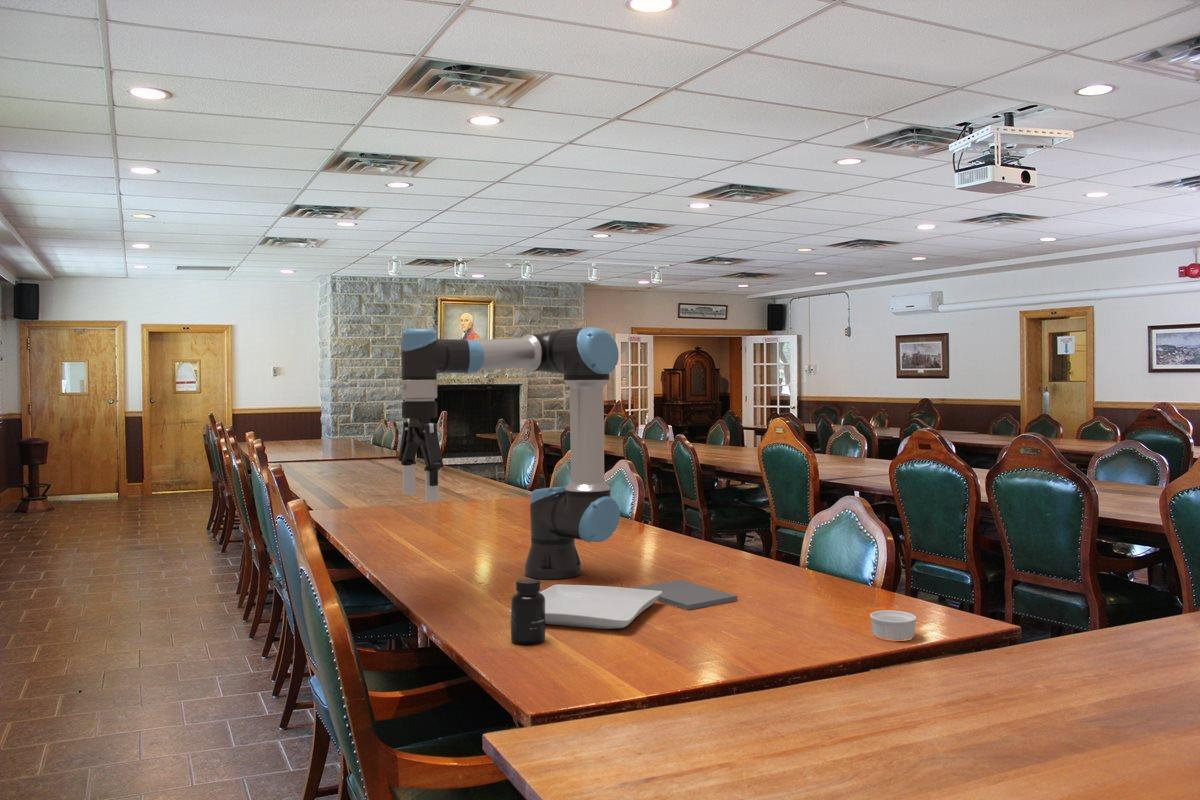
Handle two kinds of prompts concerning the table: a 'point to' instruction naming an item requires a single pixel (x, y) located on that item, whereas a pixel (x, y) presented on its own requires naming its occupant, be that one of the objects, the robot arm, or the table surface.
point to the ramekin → (893, 624)
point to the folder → (689, 594)
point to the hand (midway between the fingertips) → (420, 497)
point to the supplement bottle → (528, 613)
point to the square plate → (595, 605)
